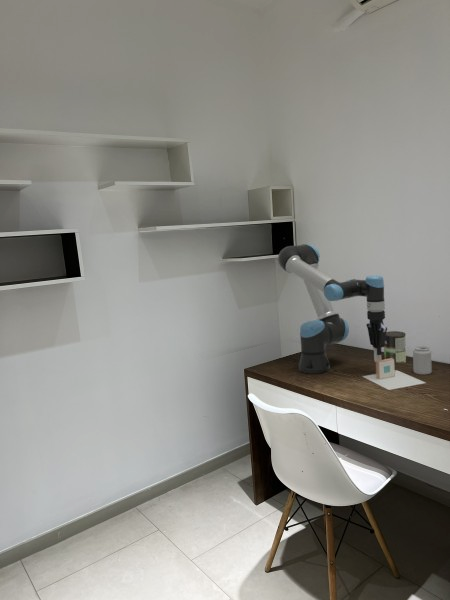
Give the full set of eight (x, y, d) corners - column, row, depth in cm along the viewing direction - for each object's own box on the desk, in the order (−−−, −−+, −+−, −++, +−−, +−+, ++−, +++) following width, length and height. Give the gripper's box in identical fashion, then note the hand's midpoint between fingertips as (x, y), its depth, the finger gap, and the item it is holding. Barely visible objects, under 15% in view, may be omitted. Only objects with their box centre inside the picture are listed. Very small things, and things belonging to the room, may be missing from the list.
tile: (376, 378, 204) (375, 360, 203) (392, 375, 206) (391, 358, 205) (379, 379, 202) (378, 361, 201) (395, 376, 204) (394, 359, 203)
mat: (362, 377, 208) (362, 376, 208) (396, 371, 213) (396, 370, 213) (389, 391, 189) (388, 389, 189) (426, 384, 194) (426, 382, 194)
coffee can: (384, 364, 225) (383, 336, 223) (383, 358, 235) (382, 331, 233) (407, 364, 222) (406, 335, 220) (405, 358, 232) (404, 330, 230)
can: (434, 372, 208) (433, 346, 206) (428, 377, 202) (427, 350, 200) (417, 369, 213) (416, 344, 211) (410, 374, 207) (410, 348, 206)
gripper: (360, 309, 211) (362, 359, 214) (376, 313, 199) (379, 366, 202) (374, 307, 213) (376, 356, 216) (392, 311, 200) (393, 363, 204)
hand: (377, 361), depth 209 cm, fingers closed
